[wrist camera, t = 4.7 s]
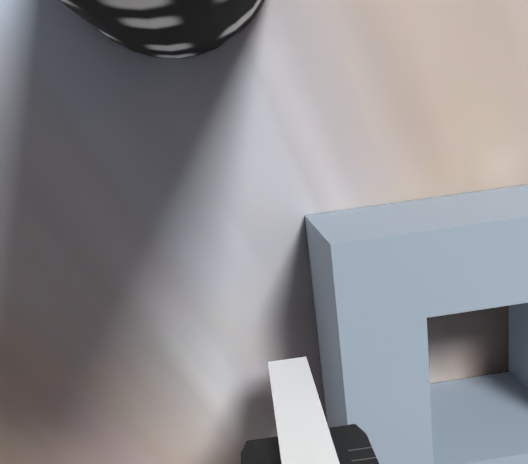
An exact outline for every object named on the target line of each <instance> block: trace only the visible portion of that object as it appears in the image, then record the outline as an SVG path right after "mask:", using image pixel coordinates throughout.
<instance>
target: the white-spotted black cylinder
mask: <svg viewBox="0 0 528 464" xmlns="http://www.w3.org/2000/svg"><path fill="white" fill-rule="evenodd" d="M60 1H61V2H62V3H64V4H65V5H66V6H68V7H69V8H70V9H71V10H73V11H74V12H75V13H77V14H78V15H79V16H81V17H82V18H83V19H85V20H86V21H87V22H88V23H90V24H91V25H92V26H94V27H95V28H96V29H98V30H99V31H100V32H102V33H103V34H104V35H106V36H107V37H108V38H110V39H111V40H112V41H114V42H116V43H118V44H120V45H122V46H124V47H126V48H128V49H130V50H132V51H135V52H138V53H142V54H146V55H149V56H153V57H163V58H182V57H189V56H195V55H199V54H202V53H205V52H207V51H210V50H213V49H215V48H218V47H219V46H221V45H222V44H224V43H226V42H227V41H229V40H230V39H232V38H233V37H235V36H236V35H237V34H238V33H239V32H240V31H241V30H242V29H243V28H244V27H245V26H246V25H247V24H248V23H249V22H250V21H251V20H252V19H253V17H254V16H255V14H256V13H257V11H258V10H259V8H260V7H261V5H262V4H263V2H264V0H60Z"/></svg>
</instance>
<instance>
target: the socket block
mask: <svg viewBox="0 0 528 464" xmlns="http://www.w3.org/2000/svg"><path fill="white" fill-rule="evenodd" d="M305 221H306V231H307V240H308V249H309V258H310V268H311V277H312V286H313V296H314V305H315V314H316V324H317V333H318V342H319V351H320V361H321V370H322V379H323V389H324V398H325V407H326V416H327V425H328V428H330V427H337V426H344V425H351V424H356V425H357V426H358V427H359V428H361V429H362V430H363V431H364V432H365V433H366V434H367V437H368V439H369V441H370V444H371V446H372V448H373V450H374V453H375V455H376V458H377V460H378V462H379V464H528V184H527V185H520V186H513V187H506V188H498V189H491V190H484V191H477V192H470V193H463V194H455V195H448V196H441V197H434V198H427V199H420V200H412V201H405V202H398V203H391V204H384V205H376V206H369V207H362V208H355V209H348V210H341V211H333V212H326V213H319V214H312V215H305ZM502 306H508V372H503V373H497V374H490V375H484V376H478V377H471V378H465V379H459V380H452V381H446V382H440V383H433V384H430V378H429V356H428V334H427V318H429V317H436V316H443V315H449V314H456V313H462V312H469V311H476V310H482V309H489V308H496V307H502Z"/></svg>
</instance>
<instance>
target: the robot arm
mask: <svg viewBox="0 0 528 464" xmlns="http://www.w3.org/2000/svg"><path fill="white" fill-rule="evenodd" d="M268 368H269V375H270V383H271V390H272V398H273V405H274V413H275V420H276V428H277V435H278V437H271V438H264V439H257V440H251V441H247V442H246V444H245V446H244V448H243V450H242V452H241V464H379V462H378V460H377V458H376V455H375V453H374V450H373V448H372V446H371V444H370V441H369V439H368V437H367V434H366V433H365V432H364V431H363V430H362V429H361V428H359V427H358V426H357V425H356V424H351V425H344V426H337V427H330V428H328V425H327V422H326V418H325V415H324V412H323V409H322V406H321V402H320V399H319V396H318V393H317V390H316V386H315V383H314V380H313V377H312V374H311V370H310V367H309V364H308V361H307V358H306V356H305V357H298V358H291V359H284V360H277V361H270V362H268Z"/></svg>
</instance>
